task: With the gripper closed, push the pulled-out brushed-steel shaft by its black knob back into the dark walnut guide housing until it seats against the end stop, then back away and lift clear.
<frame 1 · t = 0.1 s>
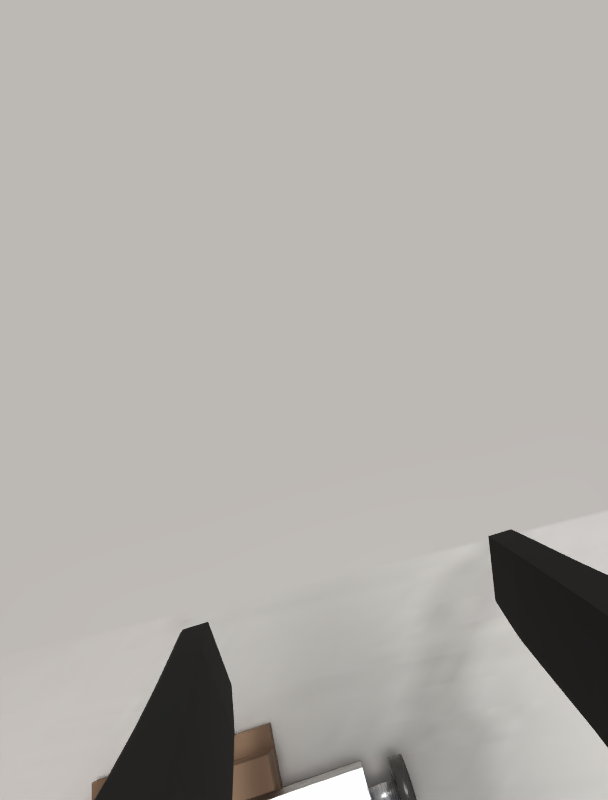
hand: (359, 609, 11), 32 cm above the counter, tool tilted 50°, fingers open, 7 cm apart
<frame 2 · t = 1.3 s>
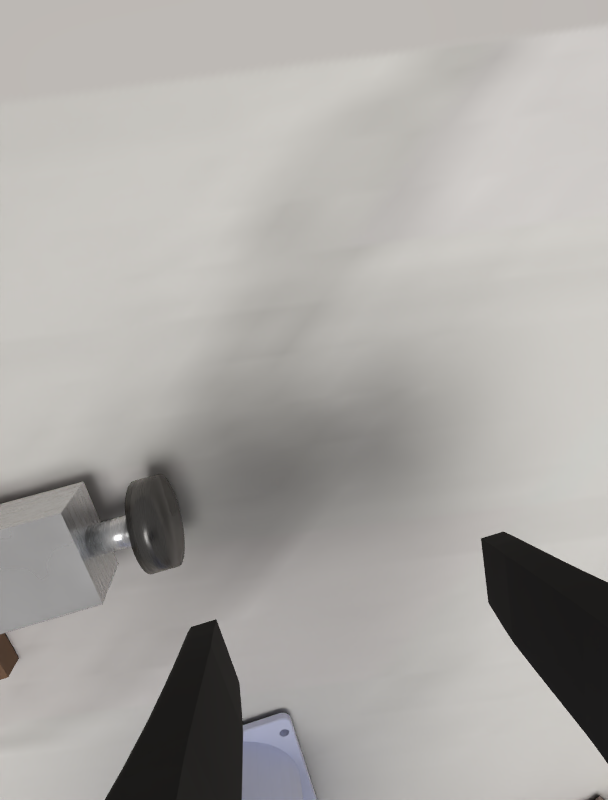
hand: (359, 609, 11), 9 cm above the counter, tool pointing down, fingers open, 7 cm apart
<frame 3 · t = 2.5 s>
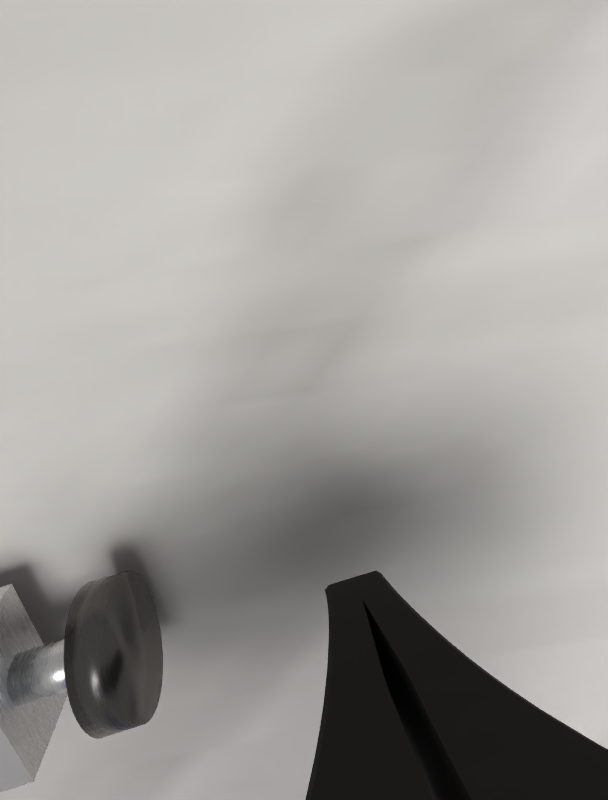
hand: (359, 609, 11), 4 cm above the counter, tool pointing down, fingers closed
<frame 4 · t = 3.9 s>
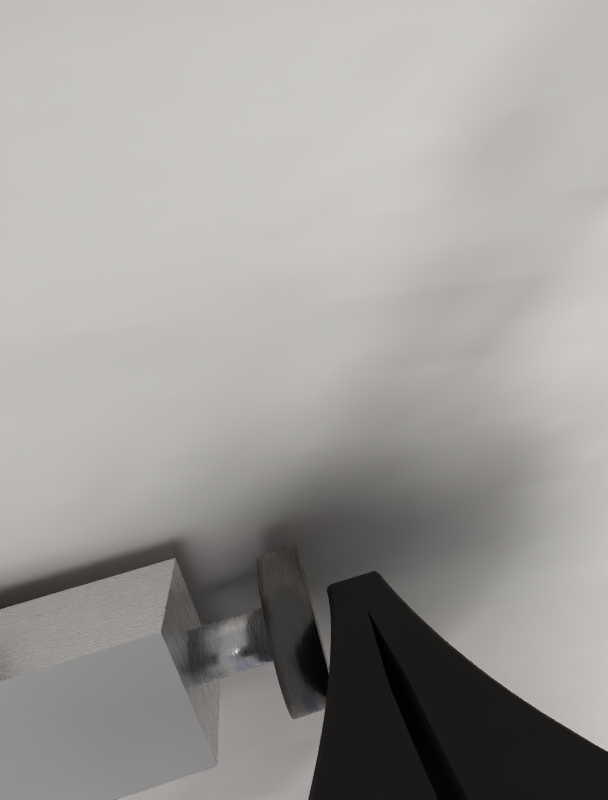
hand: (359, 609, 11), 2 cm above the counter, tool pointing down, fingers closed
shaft: (4, 716, 10), point 2 cm above the counter, slide at 6.8 cm, touching gripper
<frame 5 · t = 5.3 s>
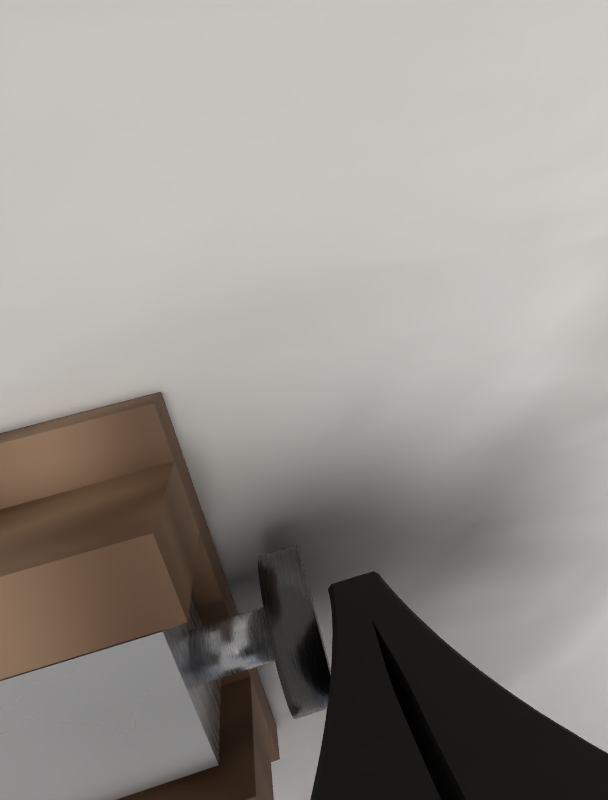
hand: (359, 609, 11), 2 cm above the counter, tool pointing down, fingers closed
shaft: (6, 715, 10), point 2 cm above the counter, slide at 0.0 cm, touching gripper
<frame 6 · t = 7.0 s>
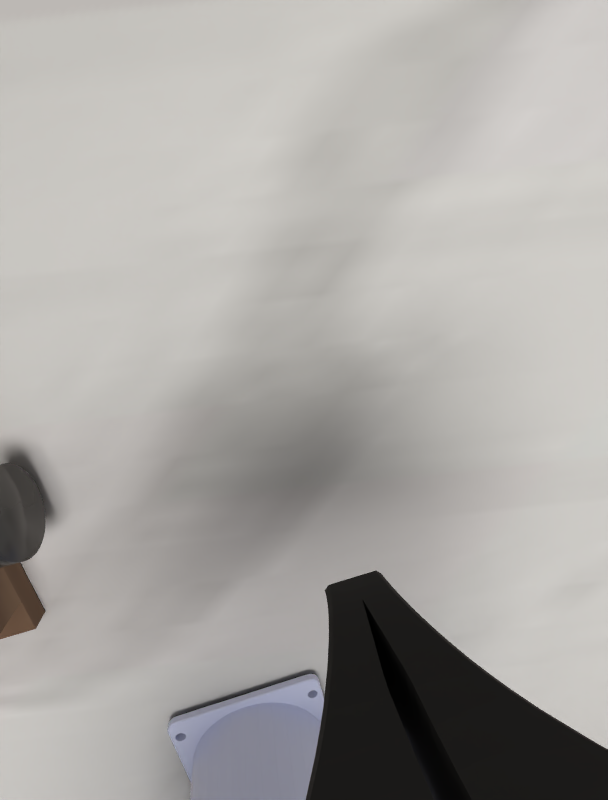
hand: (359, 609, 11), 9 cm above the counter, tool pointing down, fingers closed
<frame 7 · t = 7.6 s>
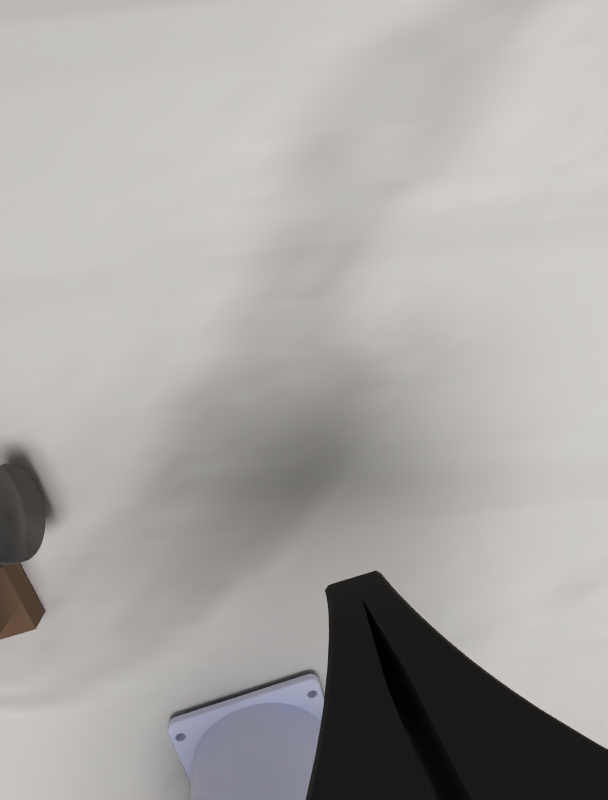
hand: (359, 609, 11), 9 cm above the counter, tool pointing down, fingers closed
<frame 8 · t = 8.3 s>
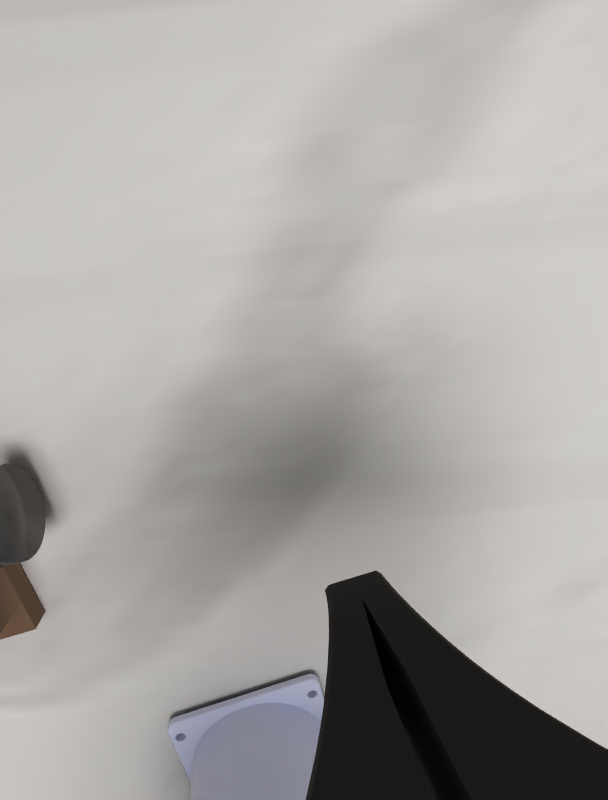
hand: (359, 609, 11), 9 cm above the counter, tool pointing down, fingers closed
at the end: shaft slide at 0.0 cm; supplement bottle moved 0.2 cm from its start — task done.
